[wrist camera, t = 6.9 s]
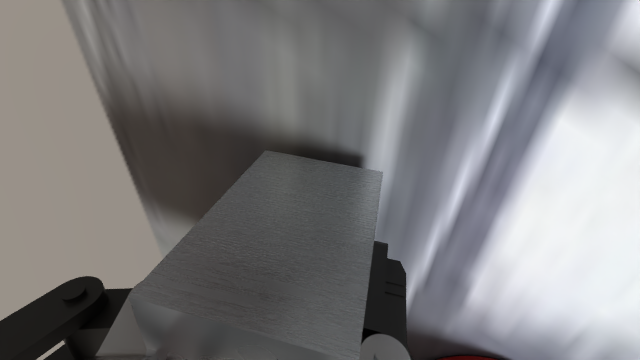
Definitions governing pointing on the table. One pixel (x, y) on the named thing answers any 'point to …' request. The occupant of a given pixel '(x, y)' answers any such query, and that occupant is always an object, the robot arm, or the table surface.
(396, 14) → the table surface
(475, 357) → the canned food
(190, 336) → the block
